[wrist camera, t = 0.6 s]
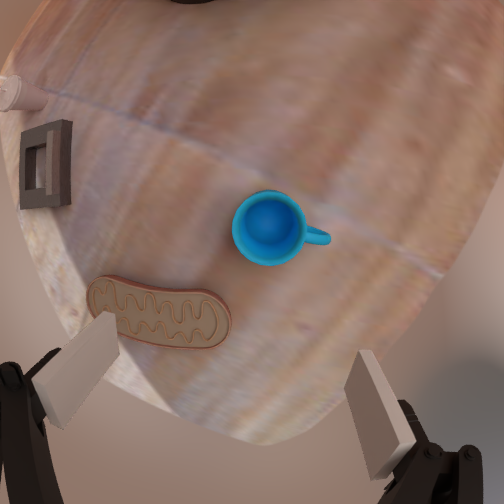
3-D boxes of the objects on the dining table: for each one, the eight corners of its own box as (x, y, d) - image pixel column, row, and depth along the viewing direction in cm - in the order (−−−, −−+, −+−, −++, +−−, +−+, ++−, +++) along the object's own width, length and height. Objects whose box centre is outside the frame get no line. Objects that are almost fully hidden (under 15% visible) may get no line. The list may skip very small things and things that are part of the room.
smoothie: (49, 78, 34) (-2, 61, 21) (56, 101, 35) (1, 87, 22) (28, 100, 35) (-23, 90, 22) (34, 124, 36) (-20, 117, 23)
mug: (233, 241, 40) (224, 256, 32) (246, 183, 38) (241, 183, 30) (316, 261, 40) (327, 280, 32) (332, 205, 38) (348, 211, 30)
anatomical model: (237, 283, 41) (233, 296, 37) (232, 341, 44) (228, 358, 39) (99, 263, 42) (83, 272, 37) (104, 317, 44) (90, 330, 40)
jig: (31, 133, 37) (13, 131, 32) (72, 121, 36) (54, 117, 31) (30, 207, 40) (12, 211, 35) (71, 204, 40) (52, 207, 35)
